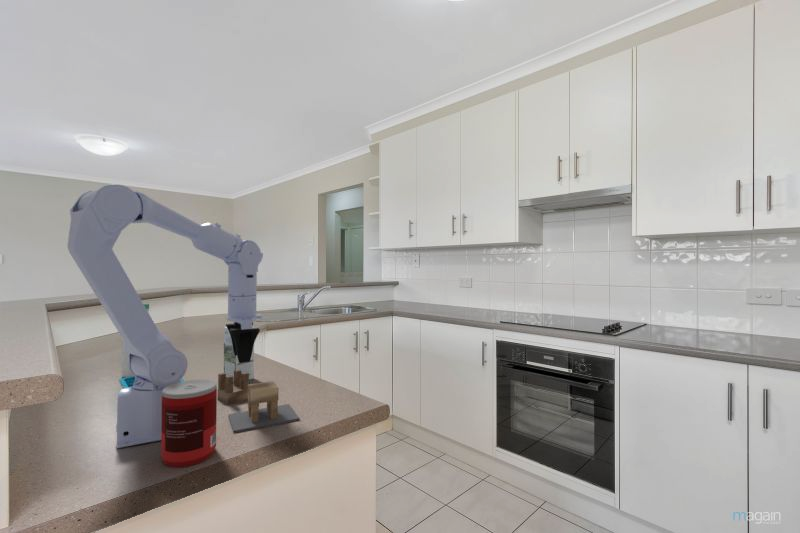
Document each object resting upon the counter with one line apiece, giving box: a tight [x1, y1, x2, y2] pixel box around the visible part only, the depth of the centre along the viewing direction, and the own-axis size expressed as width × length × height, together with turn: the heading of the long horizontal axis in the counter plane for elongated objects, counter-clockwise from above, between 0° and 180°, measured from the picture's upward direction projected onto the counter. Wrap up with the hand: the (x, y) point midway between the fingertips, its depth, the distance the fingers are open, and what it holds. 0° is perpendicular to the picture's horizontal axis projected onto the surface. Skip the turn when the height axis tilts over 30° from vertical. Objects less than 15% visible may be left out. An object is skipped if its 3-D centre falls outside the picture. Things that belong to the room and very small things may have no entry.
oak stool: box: [247, 380, 279, 423], centre depth 75 cm, size 5×5×6 cm
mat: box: [227, 403, 301, 434], centre depth 75 cm, size 12×9×1 cm
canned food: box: [160, 379, 218, 468], centre depth 60 cm, size 8×8×11 cm
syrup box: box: [223, 325, 255, 383], centre depth 102 cm, size 6×6×14 cm
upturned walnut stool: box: [217, 370, 250, 405], centre depth 86 cm, size 5×5×6 cm
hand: (241, 358), depth 81 cm, fingers open, 7 cm apart
